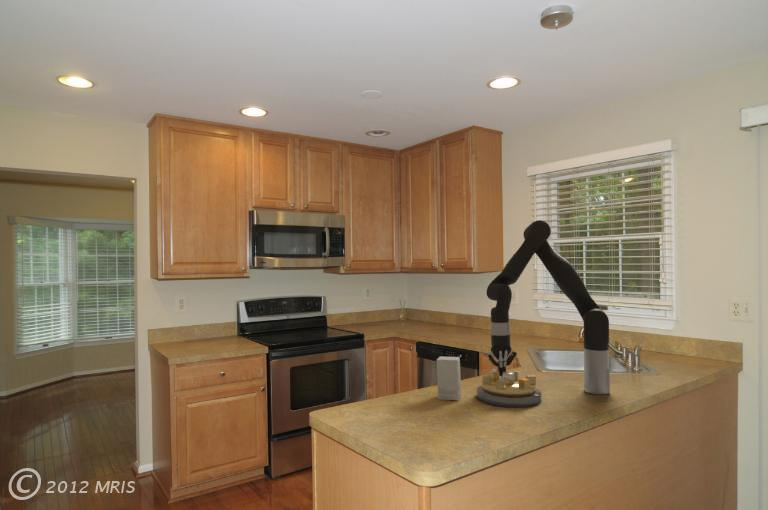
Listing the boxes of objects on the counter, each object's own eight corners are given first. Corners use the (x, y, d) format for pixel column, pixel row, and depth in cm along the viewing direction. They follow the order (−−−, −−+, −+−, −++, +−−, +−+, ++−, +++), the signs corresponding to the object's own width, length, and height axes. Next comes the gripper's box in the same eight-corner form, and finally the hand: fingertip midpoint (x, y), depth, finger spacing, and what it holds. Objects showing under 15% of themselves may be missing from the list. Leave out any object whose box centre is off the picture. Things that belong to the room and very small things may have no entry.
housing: (541, 392, 200) (541, 384, 200) (541, 410, 177) (541, 401, 177) (480, 388, 207) (480, 380, 207) (473, 404, 184) (472, 395, 184)
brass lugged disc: (510, 381, 205) (510, 365, 205) (547, 392, 188) (547, 375, 188) (471, 387, 196) (471, 370, 196) (506, 399, 178) (506, 381, 178)
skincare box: (461, 396, 195) (461, 356, 195) (458, 401, 188) (457, 360, 189) (440, 395, 197) (440, 355, 198) (436, 399, 191) (436, 358, 191)
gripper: (511, 330, 206) (512, 372, 206) (481, 333, 203) (482, 375, 203) (520, 333, 198) (521, 376, 198) (489, 335, 195) (491, 380, 195)
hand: (502, 376), depth 200 cm, fingers closed
